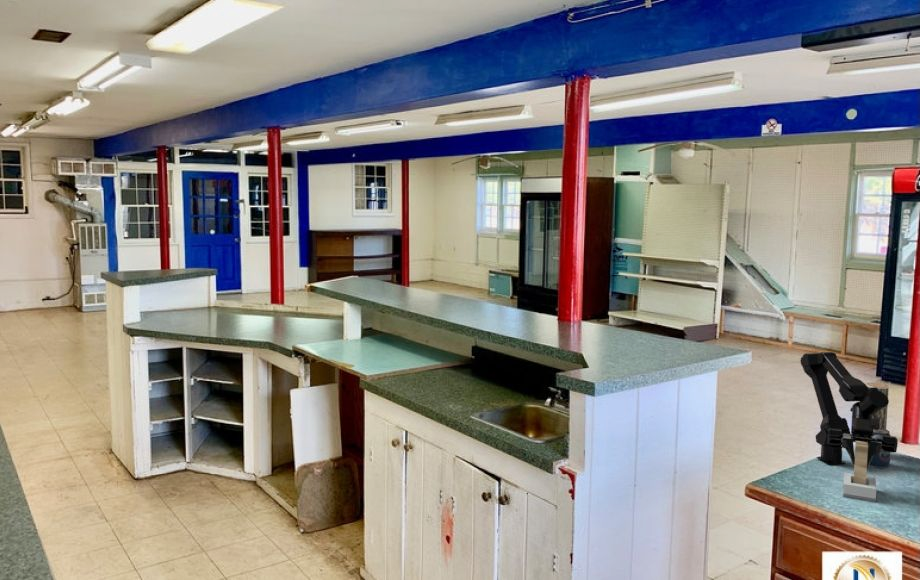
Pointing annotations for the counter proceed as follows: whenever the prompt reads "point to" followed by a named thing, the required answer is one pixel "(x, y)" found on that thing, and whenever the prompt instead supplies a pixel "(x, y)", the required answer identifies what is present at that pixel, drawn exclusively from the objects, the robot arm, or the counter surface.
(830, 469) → the counter surface
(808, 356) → the robot arm
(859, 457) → the slat
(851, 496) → the end cap
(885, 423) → the bark log
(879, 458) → the soda can
